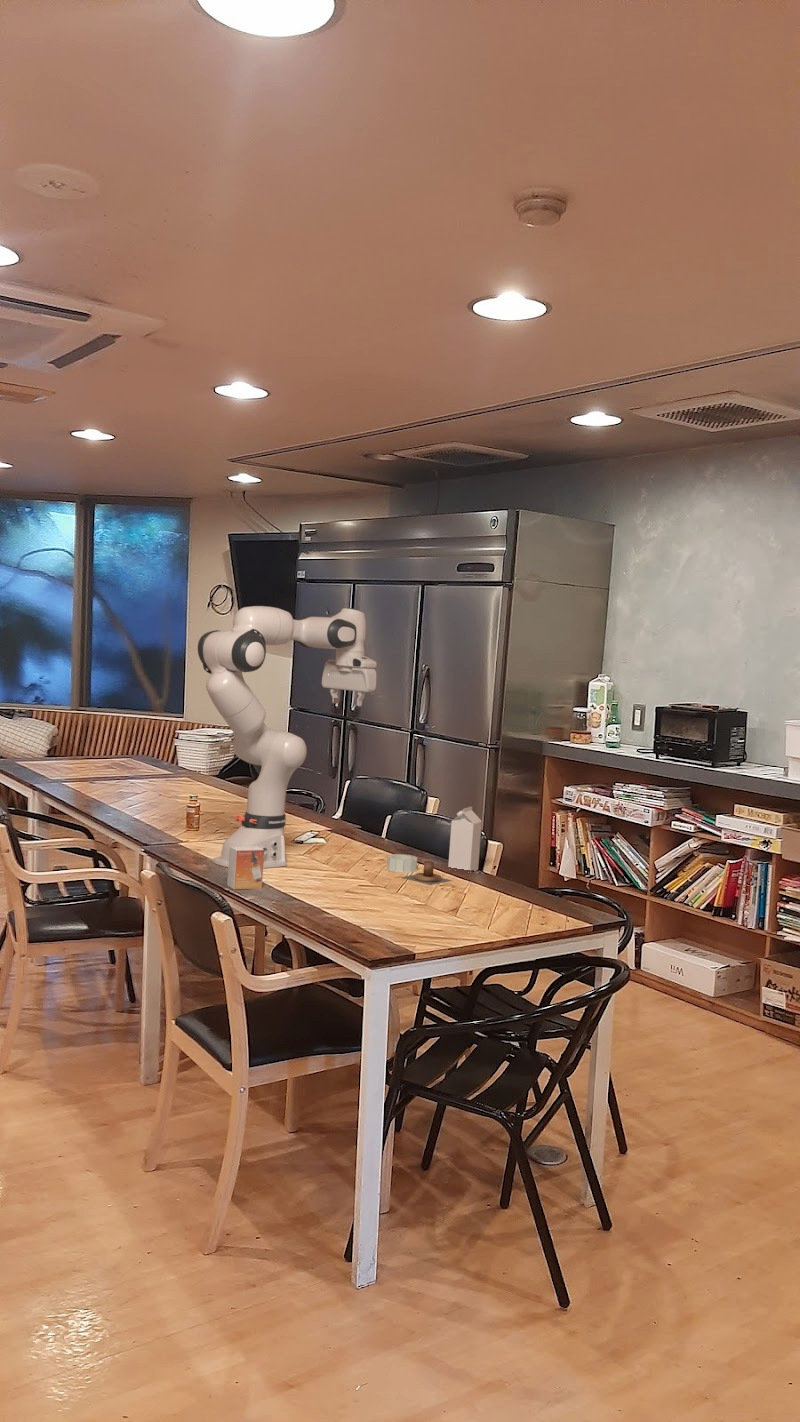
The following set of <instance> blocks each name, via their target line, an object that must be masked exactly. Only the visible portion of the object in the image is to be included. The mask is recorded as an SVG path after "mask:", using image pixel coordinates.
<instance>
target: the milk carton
mask: <svg viewBox="0 0 800 1422" xmlns="http://www.w3.org/2000/svg"><path fill="white" fill-rule="evenodd" d="M482 822H483V821H482V820H481V818H479V816H478V815H477V814H476V813H475V812H474V811H473V806H469V807H465V808H463V809H462V810H460V811H458V812H457V813H456V817H455V818H454V819H452V820H451V824H450V825H451V826H450V836H449V837H450V839H449V852H448V863H447V864H448V865H447V866H448V867H451V868H457V869H464V870H470V871H471V870H474V872H476V871H478V870H479V864H480V863H479V861H480V850H481V837H482V834H481V833H482ZM448 867H447V868H448Z"/></svg>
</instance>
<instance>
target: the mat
mask: <svg viewBox="0 0 800 1422" xmlns="http://www.w3.org/2000/svg"><path fill="white" fill-rule="evenodd" d="M400 878H401V879H403V880H408V881H411V882H412V881H413V882H416V883H417V882H418V883H420V884H421V883H422V884H425V885H428V886H429V885H430V886H434V885H437V884H443V883H447V882H452V881H453V880H452V879H448V878H444V877H441V881H440V882H422V881H418V880H416V879H415V874H412V875H406V876H401V877H400Z"/></svg>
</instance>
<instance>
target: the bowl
mask: <svg viewBox="0 0 800 1422" xmlns="http://www.w3.org/2000/svg"><path fill="white" fill-rule="evenodd" d="M386 862H387V863H386V870H388V871H389V872H390V871H391V872H395V873H401V874H403V873H406V874H409V873H416V872H417V870H418V857H417V856H415V855H411V854H410V855H409V854H403V853H397V854H396V853H394V854H389V855H387V861H386Z"/></svg>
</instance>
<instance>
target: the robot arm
mask: <svg viewBox="0 0 800 1422" xmlns="http://www.w3.org/2000/svg"><path fill="white" fill-rule="evenodd" d="M366 635H367V620H366V615H365V613H364V612H363V611H362V610H360V609H356V608H353V607H343V608H342V609H340V611H339V612H338V613H337V614H335V615H332V616H329V617H327V616H315V615H305V616H303V617H299V618H298V619H294V618H293V616H292V614H291V613H290V612H289V611H286V610H284V609H281V608H279V607H273V606H265V605H253V606H244V607H242V608H240V609H239V610H238V611H236V613H235V614H234V616H233V619H232V629H231V630H218V629H217V630H211V631H208V632H206V633H203V635H201V637H200V638H199V640H198V644H197V655H198V657H199V660H200V662H201V663H202V668H203V670H204V671H205V672H206V673H208V674H210V676H209V677H208V679H207V681H206V685H205V687H206V688H205V689H206V692H207V694H208V695H209V698H210V700H211V701H212V704H213V705H214V707H215V708H216V710H217V712H218V713H219V714H220V716H221V717H222V718H223V719H224V721H225V722H226V724H227V725H228V727H229V728H230V730H231V731H232V734H233V735H234V738H233V741H232V742H233V743H232V746H233V747H232V748H233V752H234V754H235V756H236V757H237V758H238V759H240V760H242V761H244V762H246V763H248V764H250V765H256V766H261V768H260V772H259V775H258V777H257V779H256V780H253V781H252V782H251V783H249V786H248V788H247V789H248V790H247V803H246V812H244V815H241V814H236V815H235V817H234V819H235V822H240V823H241V825H240V827H238V829H237V830H235V831H234V832H233V833H232V834H231V835H230V836H229V837H227V838H226V839H225V840H224V842H223V843H222V848H221V854H220V856H216V857H213V858H212V863H214V864H215V865H217V866H222V867H224V868H228V865H229V850H230V847H247V846H258V847H260V848H262V849H264V865H263V869H267V868H278V867H286V866H287V863H288V858H287V853H286V845H285V844H286V843H285V831H284V830H285V826H286V813H285V811H286V810H285V809H286V798H287V791H288V790H287V789H288V785H289V782H290V780H291V778H292V776H293V773H294V772H295V771H296V770H297V769H298V768H300V767H301V766H302V765H303V763H304V762H305V760H306V757H307V752H308V751H307V745H306V743H305V740H304V739H303V738H302V737H300V736H298V735H296V734H295V733H291V732H288V731H282V730H276V729H272V728H270V727H268V725H266V724H265V721H266V717H267V712H266V709H265V707H264V706H263V704H262V703H261V702H260V700H259V698H257V696H256V694H254V692H253V691H252V689H251V688H250V686H248V684H247V683H246V681H245V678H244V675H243V673H250V672H251V673H252V672H255V671H257V670H259V669H260V668H261V667H262V666H263V664H264V662H265V660H266V653H267V646H280V645H281V646H282V645H286V644H287V643H289V642H290V641H294V642H297V643H298V644H299V645H300V646H301V647H304V648H307V649H314V648H316V649H330V650H336V652H335V659H332V658H329V659H328V660H326V662H325V663H324V667H323V668H324V669H323V672H322V676H321V686H322V688H326V689H329V693H330V695H331V697H332V700H331V701H332V704H335V705H336V704H337V705H338V704H339V703H340V701H341V700H340V697H338V692H339V690H343V691H351V692H353V691H354V692H357V695H358V696H357V699H355V700H354V706H355V707H362V705H363V700H364V699H365V696H366V694H367V693H374V692H375V690H376V689H377V671H376V670H375V669H376V668H377V666H378V665H377V664H378V663H377V661H376V660H373V659H371V658H370V657H368V656H366V655H365V652H366V651H365V641H366V639H367V638H366Z"/></svg>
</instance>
